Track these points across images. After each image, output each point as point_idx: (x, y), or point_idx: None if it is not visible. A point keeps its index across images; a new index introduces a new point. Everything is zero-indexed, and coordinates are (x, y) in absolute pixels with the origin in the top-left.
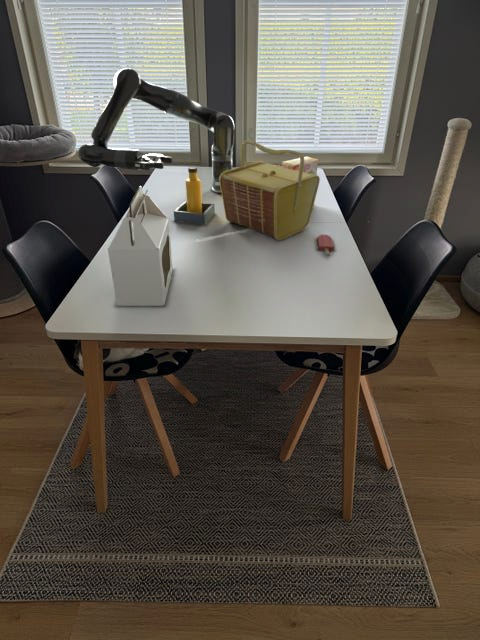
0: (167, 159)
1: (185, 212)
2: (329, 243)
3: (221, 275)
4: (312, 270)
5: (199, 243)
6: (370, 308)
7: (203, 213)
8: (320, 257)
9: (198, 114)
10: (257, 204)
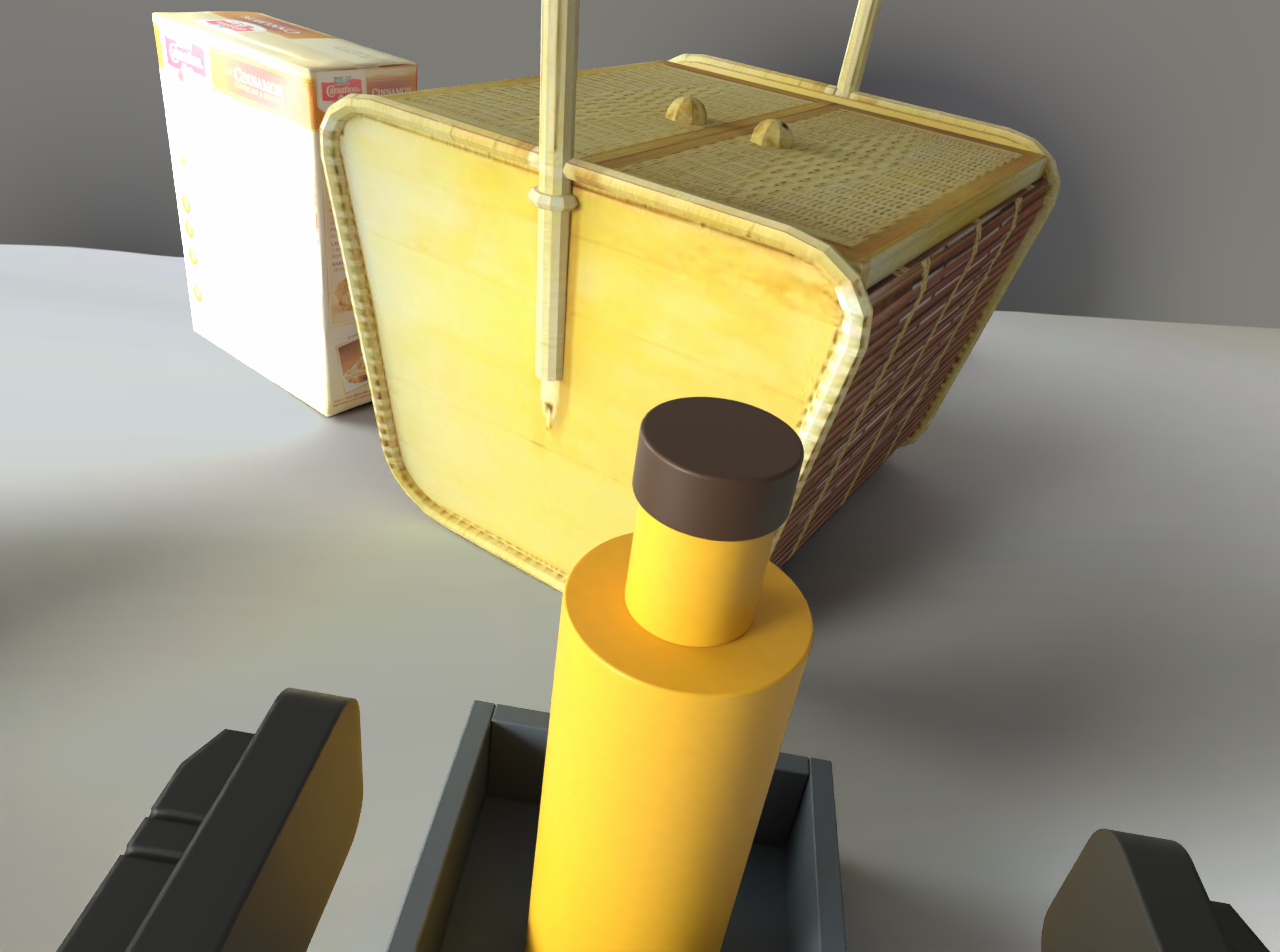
0: (295, 870)
1: None
2: None
3: None
4: (1105, 398)
5: (1195, 839)
6: (1240, 338)
7: (804, 770)
8: (968, 369)
9: None
10: (953, 321)
